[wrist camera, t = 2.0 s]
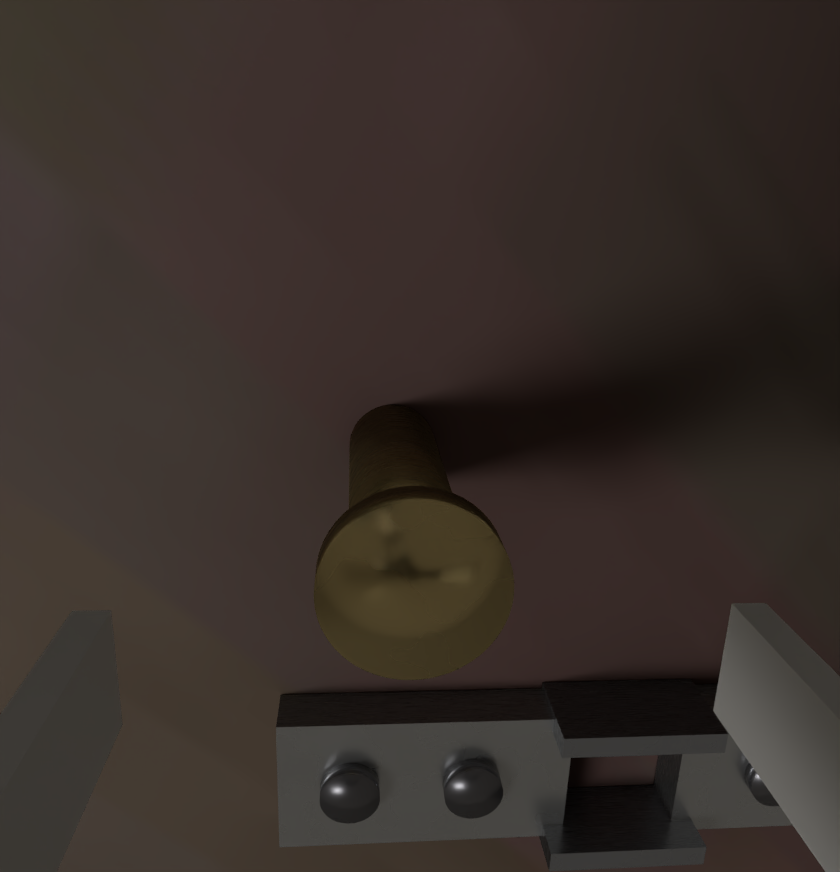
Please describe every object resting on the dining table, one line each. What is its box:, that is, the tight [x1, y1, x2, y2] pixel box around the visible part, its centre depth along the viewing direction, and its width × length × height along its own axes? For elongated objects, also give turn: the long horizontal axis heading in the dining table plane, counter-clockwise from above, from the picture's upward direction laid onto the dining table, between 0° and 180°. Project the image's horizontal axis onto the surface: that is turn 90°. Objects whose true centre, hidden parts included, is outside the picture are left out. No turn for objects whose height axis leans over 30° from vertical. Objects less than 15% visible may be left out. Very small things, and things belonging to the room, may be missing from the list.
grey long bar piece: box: [276, 679, 793, 871], centre depth 32 cm, size 29×7×4 cm, turn 88°
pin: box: [314, 405, 514, 680], centre depth 23 cm, size 5×5×11 cm
